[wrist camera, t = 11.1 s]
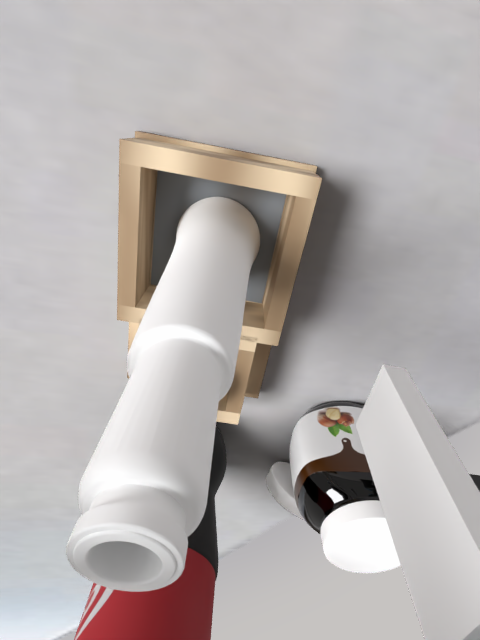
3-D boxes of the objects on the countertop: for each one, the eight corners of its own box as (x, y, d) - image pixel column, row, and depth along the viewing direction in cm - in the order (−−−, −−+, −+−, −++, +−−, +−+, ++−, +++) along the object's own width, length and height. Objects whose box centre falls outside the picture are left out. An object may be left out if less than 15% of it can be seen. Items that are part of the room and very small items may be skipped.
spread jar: (396, 400, 34) (459, 517, 24) (371, 479, 39) (414, 603, 29) (270, 394, 34) (278, 509, 24) (262, 474, 40) (266, 596, 29)
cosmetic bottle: (256, 191, 24) (281, 436, 5) (262, 275, 27) (293, 638, 8) (169, 200, 25) (-119, 457, 5) (184, 281, 28) (29, 641, 8)
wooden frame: (315, 165, 25) (329, 173, 20) (257, 391, 34) (258, 430, 30) (139, 131, 24) (114, 132, 19) (130, 371, 33) (112, 408, 29)
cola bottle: (129, 432, 37) (-178, 1196, 11) (184, 388, 34) (-47, 1293, 8) (189, 474, 40) (66, 1162, 13) (245, 437, 37) (230, 1224, 10)
